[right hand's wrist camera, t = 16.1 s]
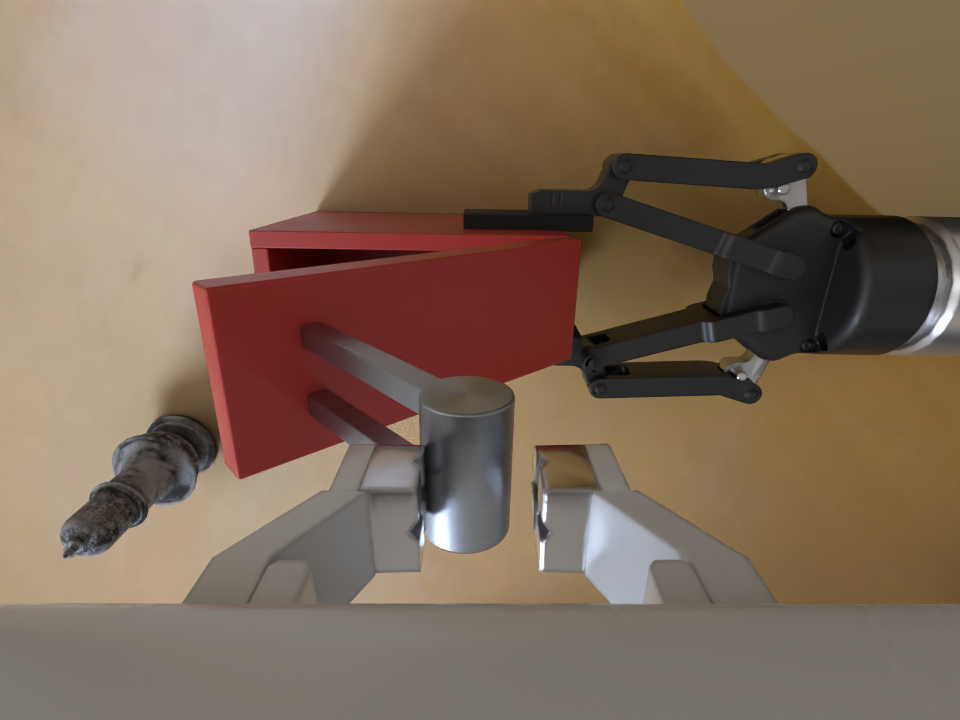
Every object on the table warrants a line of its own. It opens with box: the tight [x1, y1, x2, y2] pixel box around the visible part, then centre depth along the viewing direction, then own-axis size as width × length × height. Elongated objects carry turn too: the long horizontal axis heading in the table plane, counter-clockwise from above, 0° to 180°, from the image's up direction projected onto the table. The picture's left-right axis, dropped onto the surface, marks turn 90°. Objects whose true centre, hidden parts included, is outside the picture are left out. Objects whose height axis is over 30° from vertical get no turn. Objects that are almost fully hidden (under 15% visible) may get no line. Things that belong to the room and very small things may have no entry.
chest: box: [249, 211, 569, 274], centre depth 30 cm, size 15×6×10 cm, turn 89°
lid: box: [192, 237, 581, 554], centre depth 17 cm, size 16×6×9 cm
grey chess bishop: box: [60, 415, 216, 558], centre depth 34 cm, size 6×6×12 cm
